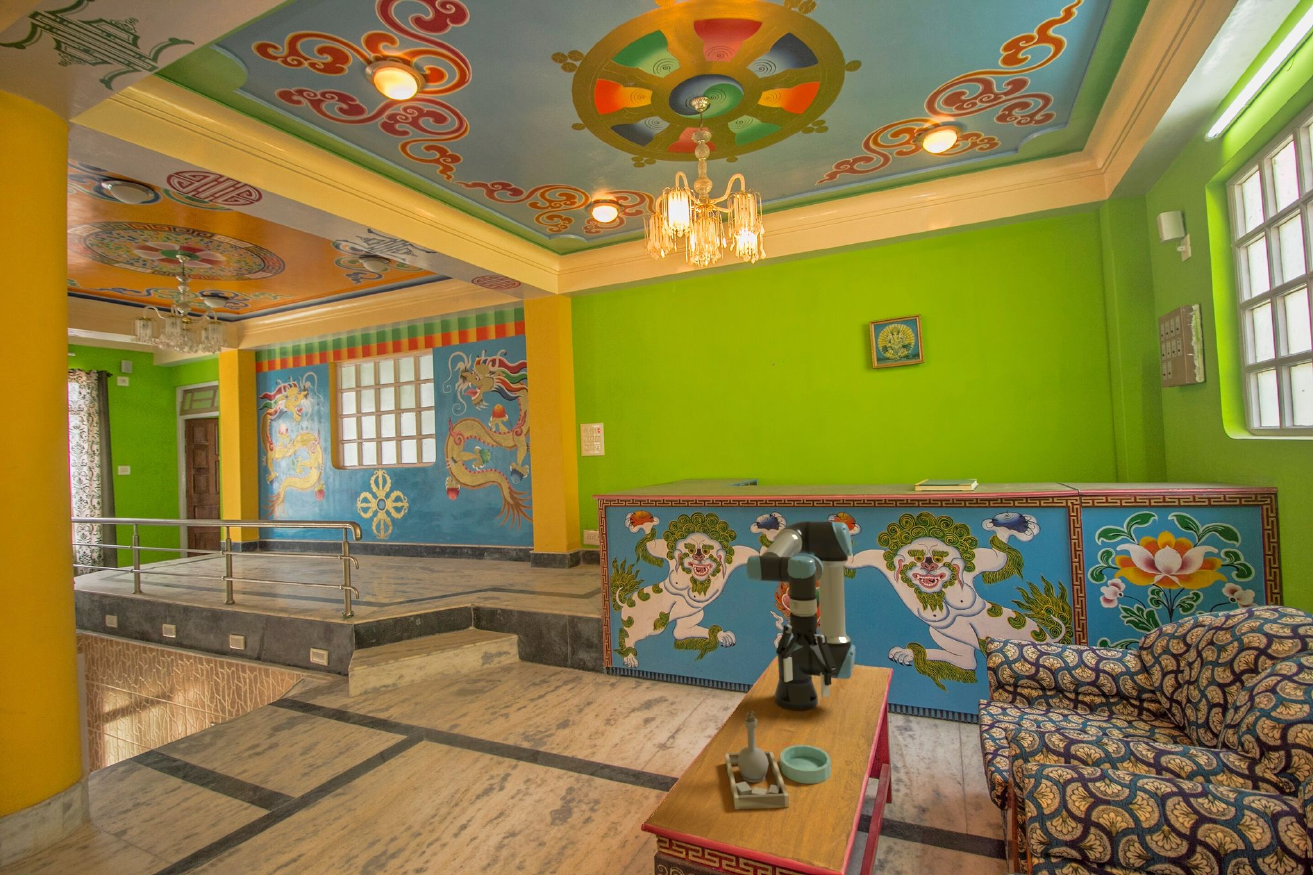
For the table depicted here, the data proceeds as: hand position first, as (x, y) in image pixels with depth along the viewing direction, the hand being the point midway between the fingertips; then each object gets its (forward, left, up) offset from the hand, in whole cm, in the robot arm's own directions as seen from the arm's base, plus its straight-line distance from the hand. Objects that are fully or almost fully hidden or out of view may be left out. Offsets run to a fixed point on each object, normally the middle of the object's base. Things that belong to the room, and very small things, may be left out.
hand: (806, 688), depth 170 cm
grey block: (+7, -20, -25) cm, 33 cm away
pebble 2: (+8, -12, -25) cm, 29 cm away
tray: (+2, -16, -25) cm, 30 cm away
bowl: (-4, 0, -25) cm, 25 cm away
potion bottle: (-2, -16, -25) cm, 30 cm away
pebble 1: (+10, -16, -25) cm, 31 cm away
